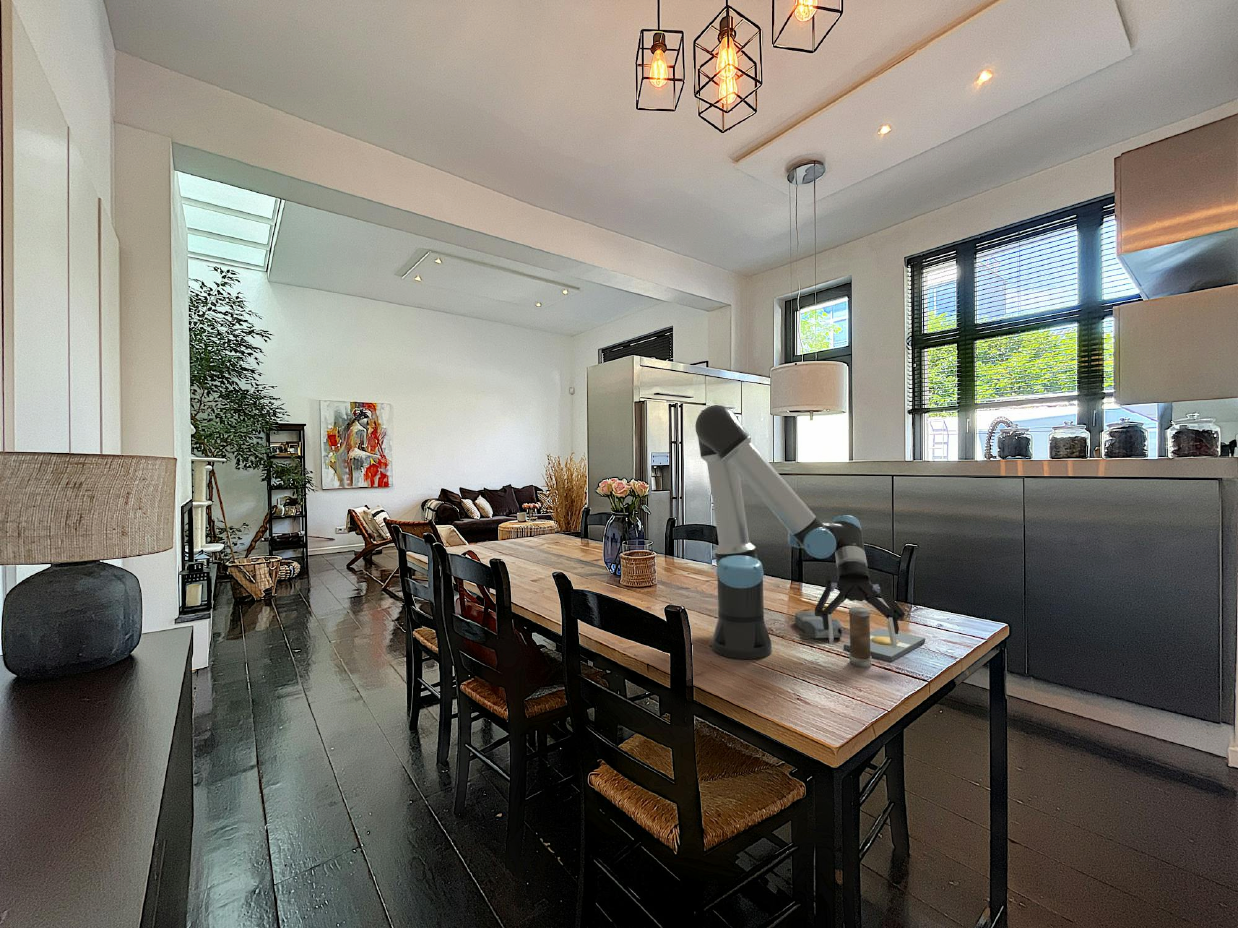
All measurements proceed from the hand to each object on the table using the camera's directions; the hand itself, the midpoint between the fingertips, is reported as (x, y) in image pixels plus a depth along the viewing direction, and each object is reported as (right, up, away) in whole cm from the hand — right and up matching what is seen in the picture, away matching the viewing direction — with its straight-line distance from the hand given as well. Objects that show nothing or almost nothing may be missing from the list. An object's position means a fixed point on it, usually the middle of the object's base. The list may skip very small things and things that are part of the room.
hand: (862, 643), depth 126 cm
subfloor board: (+12, -5, +14) cm, 19 cm away
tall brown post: (0, -5, +2) cm, 6 cm away
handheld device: (-1, -6, +29) cm, 29 cm away
